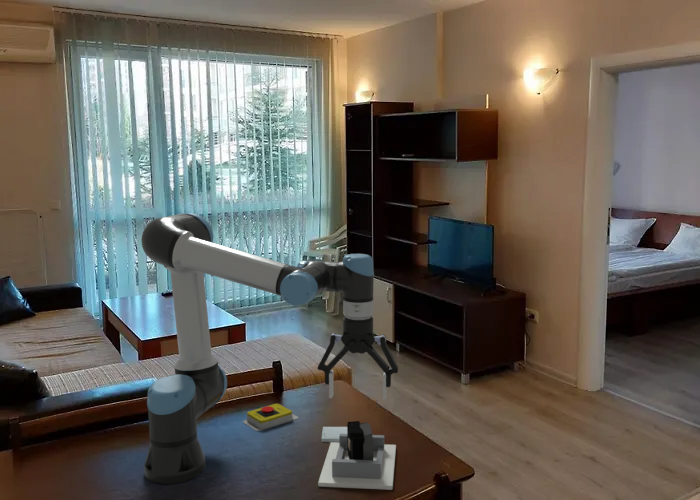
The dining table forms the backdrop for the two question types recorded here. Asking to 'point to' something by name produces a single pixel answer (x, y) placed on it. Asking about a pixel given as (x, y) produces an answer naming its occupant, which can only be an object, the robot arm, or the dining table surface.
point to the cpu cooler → (359, 441)
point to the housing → (359, 466)
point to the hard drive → (332, 433)
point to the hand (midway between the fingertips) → (357, 397)
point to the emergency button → (268, 417)
